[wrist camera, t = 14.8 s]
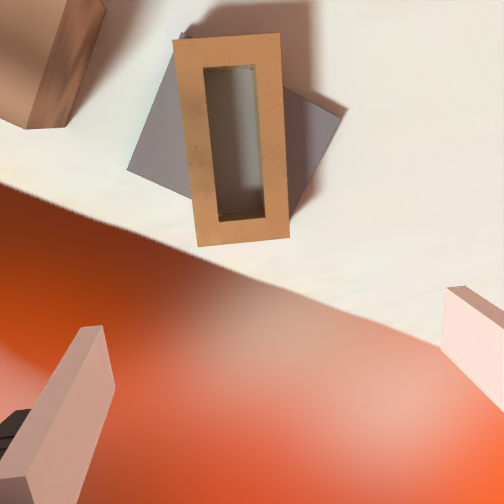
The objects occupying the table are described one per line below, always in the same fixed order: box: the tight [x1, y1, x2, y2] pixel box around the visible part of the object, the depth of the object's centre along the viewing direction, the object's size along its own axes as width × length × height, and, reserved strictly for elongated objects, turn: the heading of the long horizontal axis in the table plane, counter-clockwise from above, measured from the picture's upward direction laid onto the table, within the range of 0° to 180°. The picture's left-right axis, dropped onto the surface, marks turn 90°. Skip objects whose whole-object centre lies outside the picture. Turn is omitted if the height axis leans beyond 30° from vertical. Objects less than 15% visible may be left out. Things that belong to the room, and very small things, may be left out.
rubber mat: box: [127, 32, 341, 219], centre depth 36 cm, size 12×15×1 cm
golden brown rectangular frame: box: [172, 33, 290, 247], centre depth 34 cm, size 8×16×3 cm, turn 4°
